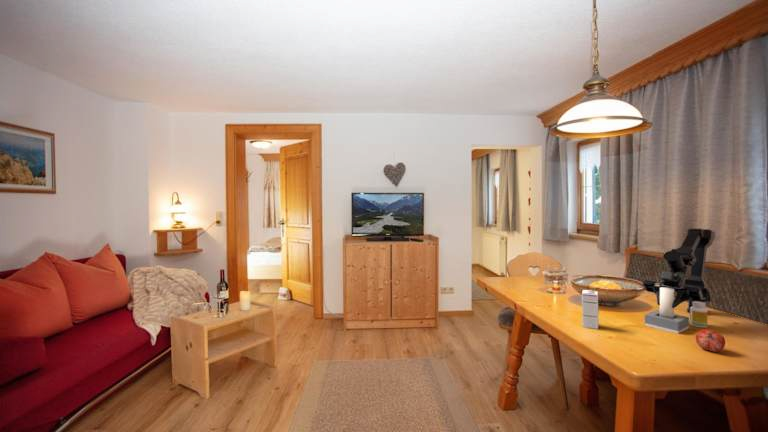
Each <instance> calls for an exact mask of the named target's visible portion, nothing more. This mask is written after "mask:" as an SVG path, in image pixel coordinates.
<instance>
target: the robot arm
mask: <svg viewBox="0 0 768 432" xmlns="http://www.w3.org/2000/svg"><path fill="white" fill-rule="evenodd" d="M715 238H716V233H715V232H714V231H713V230H712V229H709V228H708V229H707V228H697V227H696V228H693V227H691V228H690V227H689V228H688V229H687V235H686V236H685V237H684V239H683V242H682V244H681V246H680V247H677V248H671V250H668V251H666V252H665V253H663V255H662V256H663V259H664V262H665V263H666V266H667V267H668V268H669V269H668V271H665V270H662V271H660V275H659V276H660V277H659V279H660V280H661V283H662V284H661V283H658V282H656V280H653V279H644V280H642V286H643V287H644V290H645V292H648V293H653V294H655V295H656V304H657V305H658V306H660V287H667V288H673V289H674V293H676V295H675V297H674V302H673V305H672V308H674V309H675V308H676V307H678V306H680V304H681V303H682V304H683V303H684V302H685V301H686V302H687V301H688V303H687V304H688V307H687V308H686V312H687V313H690V307H692V306H693V305H692V302H693V301H698V302H703V303H705V304H706V302H709V303H711V302H712V295H711V292H710V290H709V288H708V284H707V283H706V281H705V271H706V270H705V269H706V260H707V253H708V252H707V251H708V249H709V248H710V246H712V245H713V242H714V240H715ZM689 266H690V267H691V268H690V276H689V277H688V278H686V277H687V275H688V271H689V268H688V267H689Z"/></svg>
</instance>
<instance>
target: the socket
mask: <svg viewBox="0 0 768 432" xmlns="http://www.w3.org/2000/svg"><path fill="white" fill-rule="evenodd" d="M659 314H660V310H656V309H655V310H653V311H650V312H647V313H645V314H644V326H646V327H650V328H654V329H658V330H662V331H666V332H670V333H674V334H681V333H682V332H685V331H686V330H688V329H689V328H690V316H685V315H680V314H676V313H674V319H669V318H664V317H660V316H659Z"/></svg>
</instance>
